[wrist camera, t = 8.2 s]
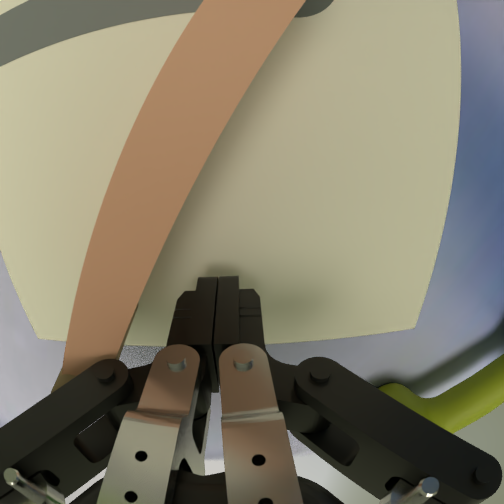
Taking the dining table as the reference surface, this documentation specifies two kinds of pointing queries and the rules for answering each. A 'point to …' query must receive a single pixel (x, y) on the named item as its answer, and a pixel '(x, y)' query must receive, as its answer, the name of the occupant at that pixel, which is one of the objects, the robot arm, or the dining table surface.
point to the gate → (165, 166)
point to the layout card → (239, 161)
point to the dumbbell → (457, 398)
